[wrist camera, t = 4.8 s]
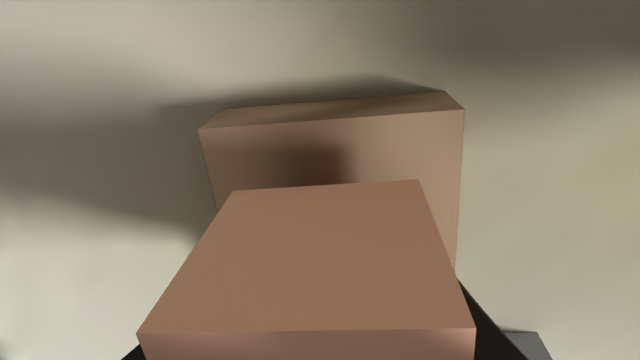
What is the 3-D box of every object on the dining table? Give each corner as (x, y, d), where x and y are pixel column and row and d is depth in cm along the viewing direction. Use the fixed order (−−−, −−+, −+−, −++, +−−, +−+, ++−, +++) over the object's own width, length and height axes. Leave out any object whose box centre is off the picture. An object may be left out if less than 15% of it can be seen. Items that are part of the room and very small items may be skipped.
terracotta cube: (418, 178, 10) (475, 327, 5) (418, 324, 12) (459, 524, 7) (232, 190, 10) (136, 333, 6) (263, 327, 12) (210, 513, 8)
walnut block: (441, 88, 13) (464, 109, 11) (435, 269, 17) (451, 320, 14) (226, 106, 14) (197, 129, 11) (261, 274, 17) (244, 322, 15)
